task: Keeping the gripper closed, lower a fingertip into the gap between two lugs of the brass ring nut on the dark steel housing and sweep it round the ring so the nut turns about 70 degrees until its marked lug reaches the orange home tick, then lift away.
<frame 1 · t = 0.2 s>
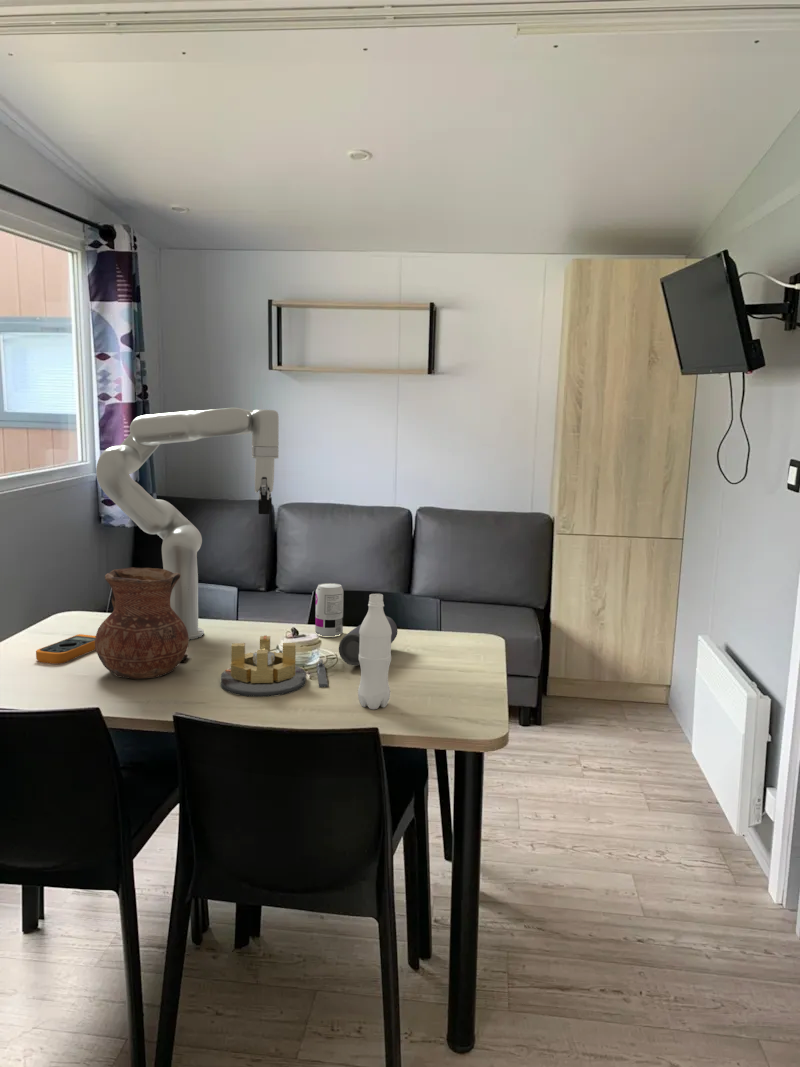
hand: (265, 512, 220), 37 cm above the table, tool pointing down, fingers open, 9 cm apart
water bottle: (373, 706, 168), on the table
ring nut: (263, 658, 181), point 6 cm above the table, hinge at 0.0°
clay pot: (143, 672, 188), on the table
housing: (263, 682, 182), on the table
multimeter: (69, 656, 201), on the table
pin spanner: (321, 678, 188), on the table
bluetooth speaker: (369, 659, 204), on the table
supplement can: (329, 635, 227), on the table
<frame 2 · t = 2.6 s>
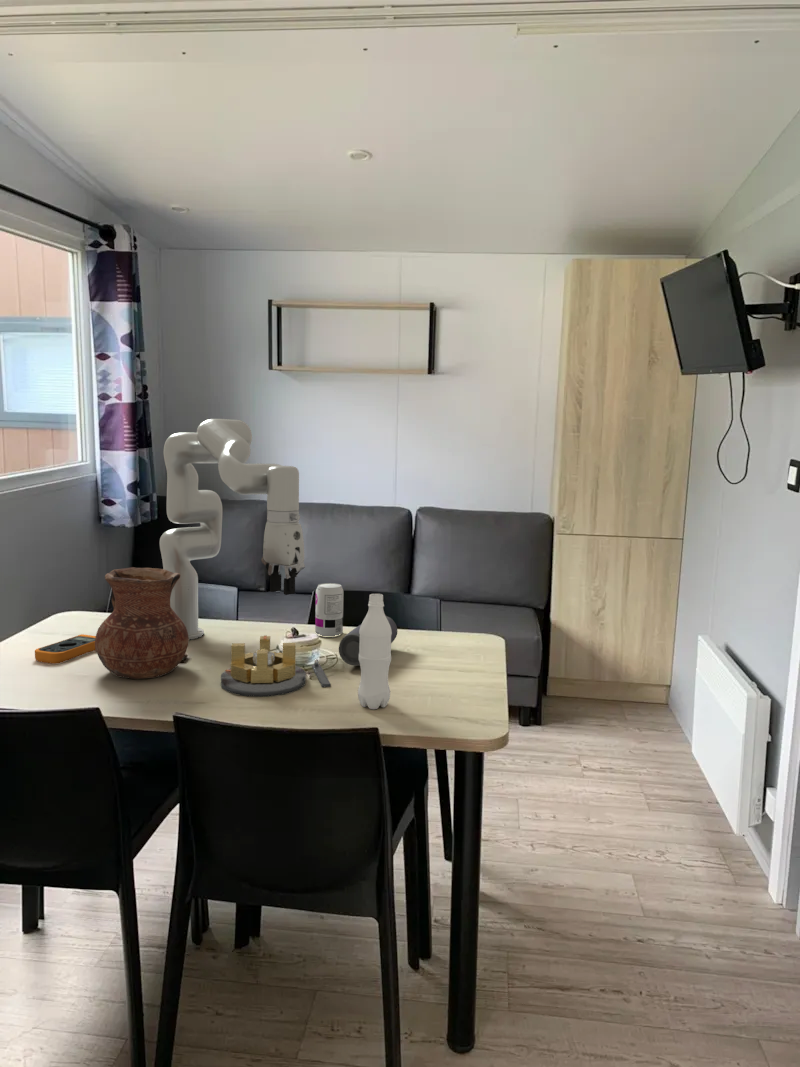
hand: (282, 591, 184), 21 cm above the table, tool pointing down, fingers open, 4 cm apart
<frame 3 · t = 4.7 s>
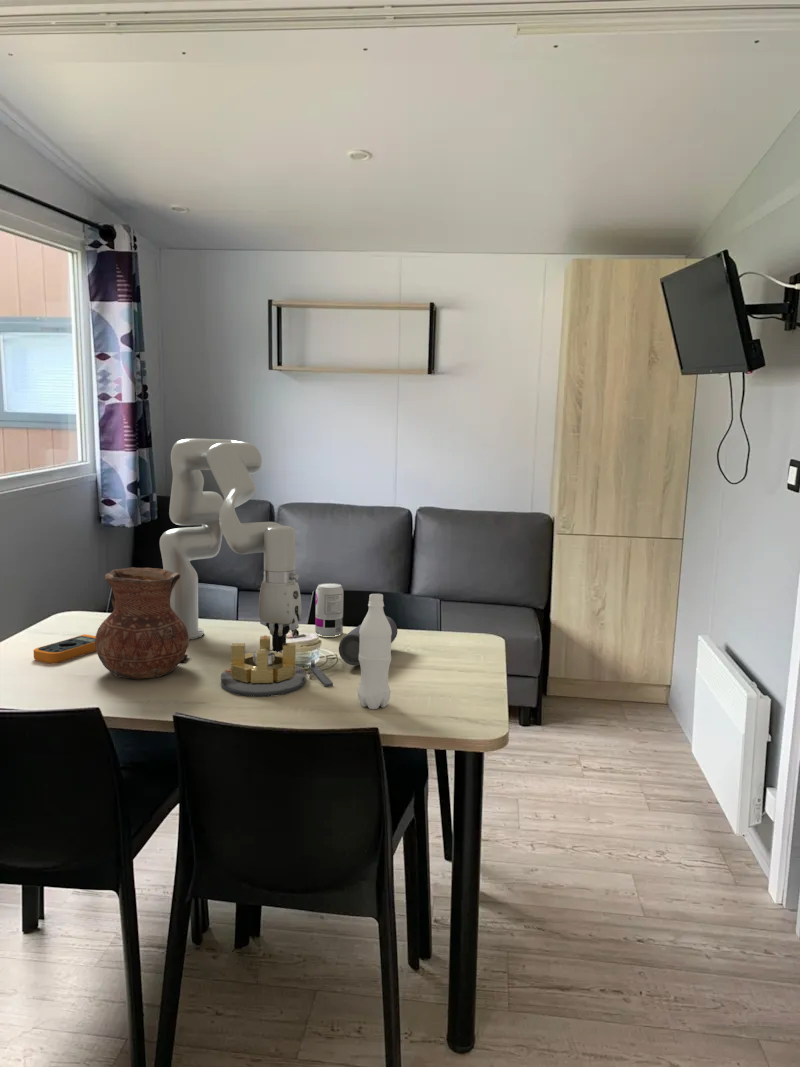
hand: (279, 650, 186), 7 cm above the table, tool pointing down, fingers closed
ring nut: (263, 658, 181), point 6 cm above the table, hinge at 0.0°, touching gripper
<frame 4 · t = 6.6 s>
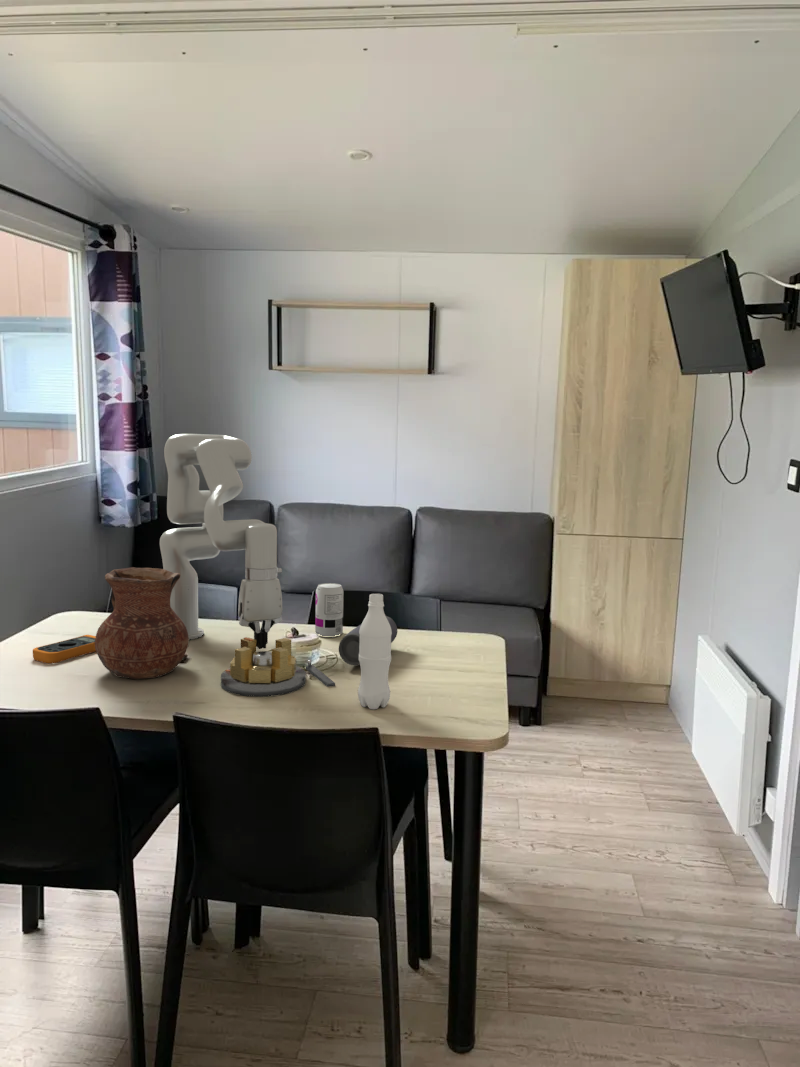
hand: (260, 647, 187), 7 cm above the table, tool pointing down, fingers closed
ring nut: (263, 658, 181), point 6 cm above the table, hinge at 41.1°, touching gripper
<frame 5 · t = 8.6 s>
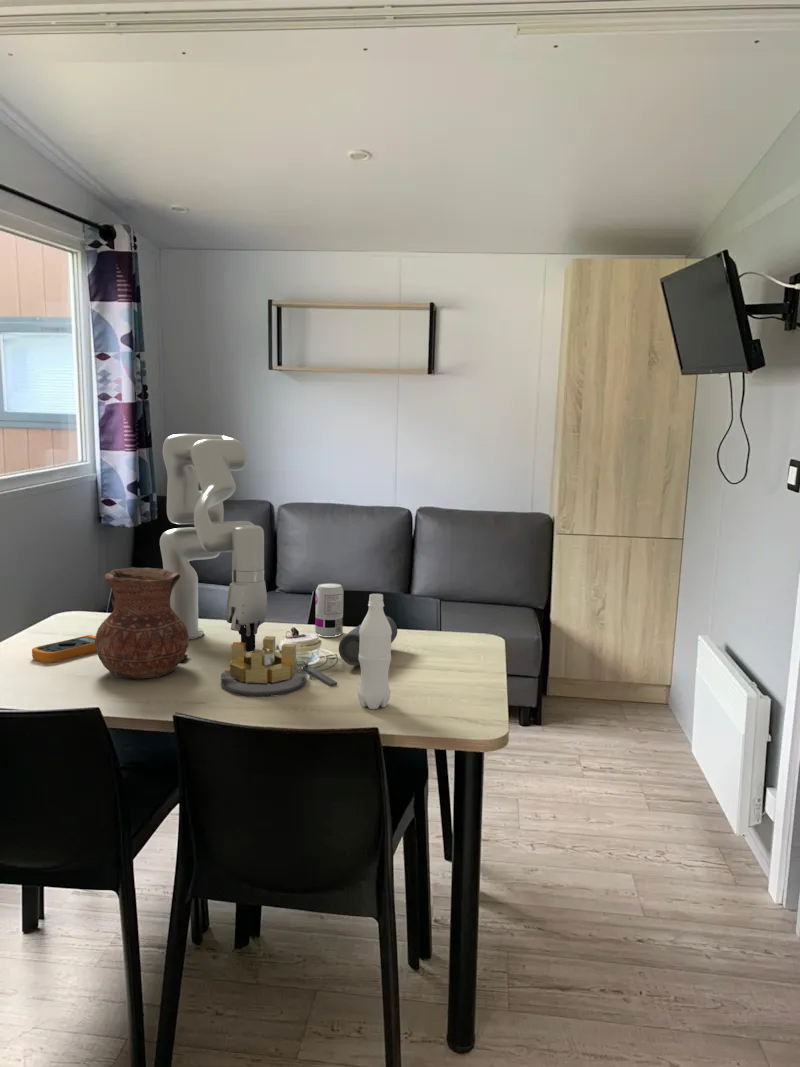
hand: (248, 650, 185), 7 cm above the table, tool pointing down, fingers closed
ring nut: (263, 658, 181), point 6 cm above the table, hinge at 80.3°
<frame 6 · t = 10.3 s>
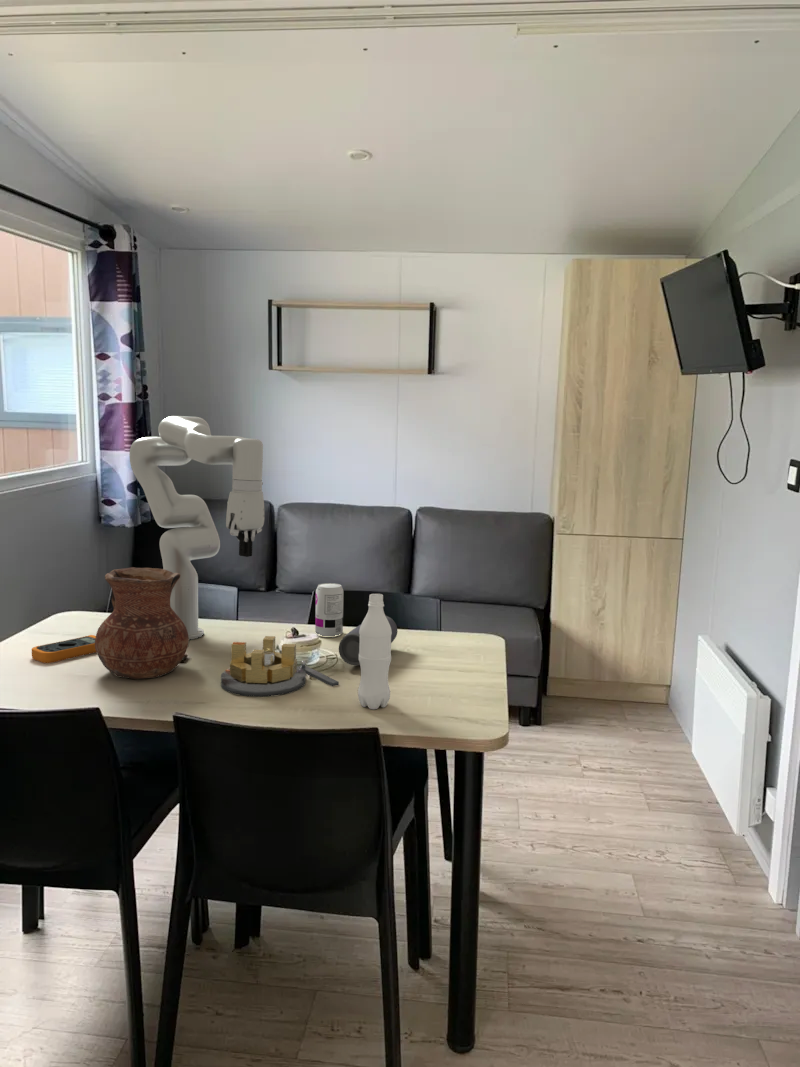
hand: (245, 555, 200), 27 cm above the table, tool pointing down, fingers closed
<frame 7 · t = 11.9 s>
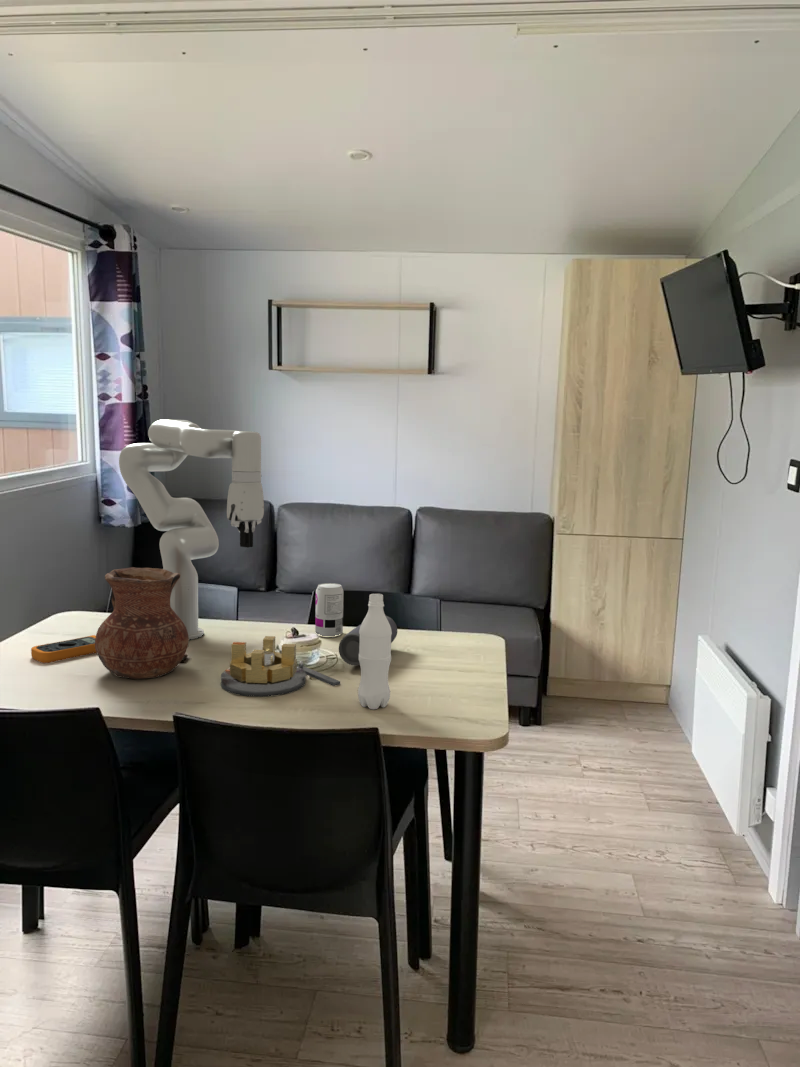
hand: (246, 546, 203), 29 cm above the table, tool pointing down, fingers closed
at the end: ring nut at +80° (first picture: +0°); pin spanner moved 1.3 cm from its start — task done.
